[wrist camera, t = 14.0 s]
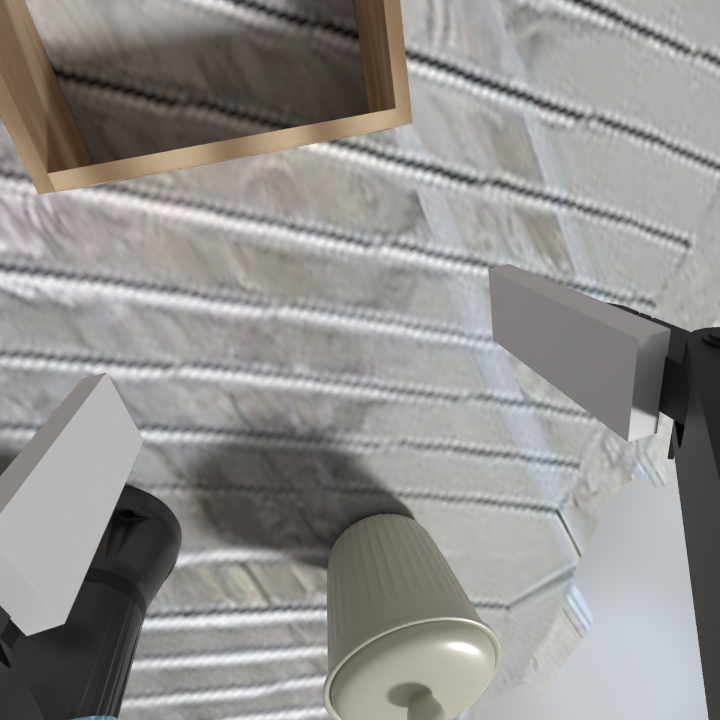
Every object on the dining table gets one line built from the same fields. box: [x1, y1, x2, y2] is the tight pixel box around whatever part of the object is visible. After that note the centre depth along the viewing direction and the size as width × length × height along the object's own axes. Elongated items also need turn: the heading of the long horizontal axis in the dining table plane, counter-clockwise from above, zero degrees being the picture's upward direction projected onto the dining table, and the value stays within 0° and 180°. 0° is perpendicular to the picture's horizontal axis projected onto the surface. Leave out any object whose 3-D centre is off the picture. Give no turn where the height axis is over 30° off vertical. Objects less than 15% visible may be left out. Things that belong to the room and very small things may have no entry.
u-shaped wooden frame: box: [0, 0, 412, 194], centre depth 27 cm, size 24×15×8 cm, turn 100°
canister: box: [323, 513, 501, 720], centre depth 47 cm, size 18×18×21 cm
